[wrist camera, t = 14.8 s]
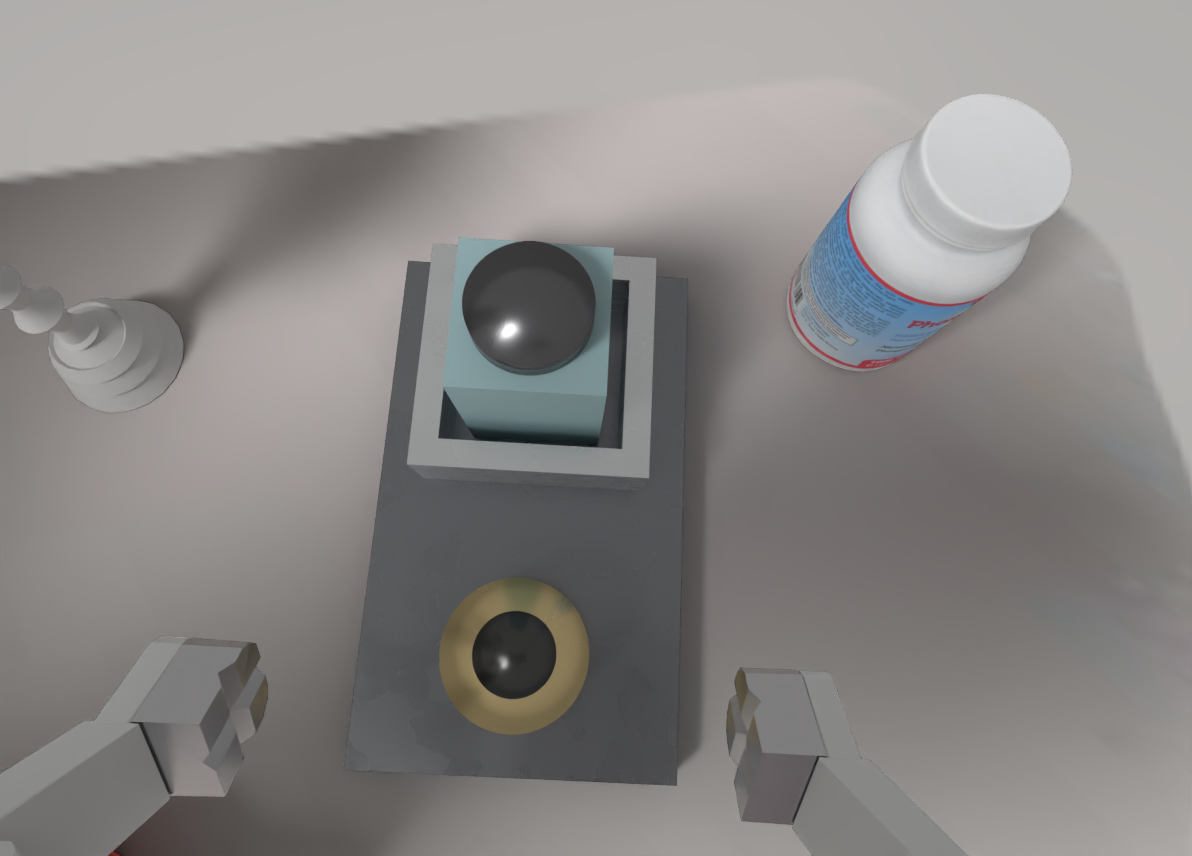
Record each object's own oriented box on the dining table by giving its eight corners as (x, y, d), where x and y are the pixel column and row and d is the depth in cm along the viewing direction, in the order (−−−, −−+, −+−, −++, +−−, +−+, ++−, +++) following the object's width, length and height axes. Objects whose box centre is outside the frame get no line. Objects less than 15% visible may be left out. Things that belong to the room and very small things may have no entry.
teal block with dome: (474, 437, 28) (436, 376, 20) (484, 321, 29) (453, 221, 21) (597, 444, 28) (608, 386, 20) (603, 328, 29) (616, 231, 21)
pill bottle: (870, 401, 30) (1038, 293, 19) (756, 320, 31) (857, 172, 20) (940, 301, 32) (1135, 147, 21) (829, 225, 32) (962, 37, 21)
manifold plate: (356, 760, 26) (312, 794, 22) (415, 276, 31) (389, 223, 27) (671, 775, 27) (691, 811, 22) (682, 293, 31) (701, 243, 27)
